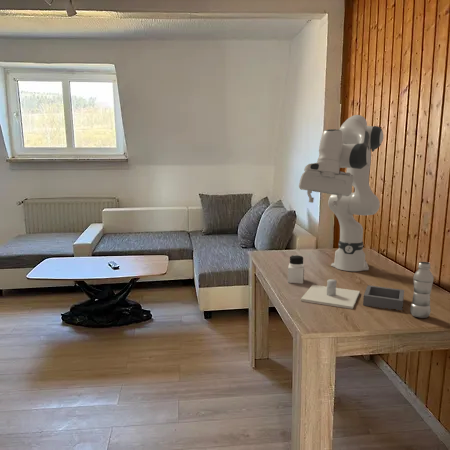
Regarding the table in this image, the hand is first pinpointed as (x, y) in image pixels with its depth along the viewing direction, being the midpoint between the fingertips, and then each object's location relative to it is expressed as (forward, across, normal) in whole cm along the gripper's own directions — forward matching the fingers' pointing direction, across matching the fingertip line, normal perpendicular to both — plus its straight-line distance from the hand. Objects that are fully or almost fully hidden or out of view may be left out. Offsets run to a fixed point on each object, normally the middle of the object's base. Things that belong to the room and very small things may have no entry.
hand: (322, 204), depth 159 cm
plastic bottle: (+37, -38, +9) cm, 54 cm away
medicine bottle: (+33, 0, -32) cm, 46 cm away
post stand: (+36, -11, -11) cm, 39 cm away
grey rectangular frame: (+34, -30, -6) cm, 46 cm away
